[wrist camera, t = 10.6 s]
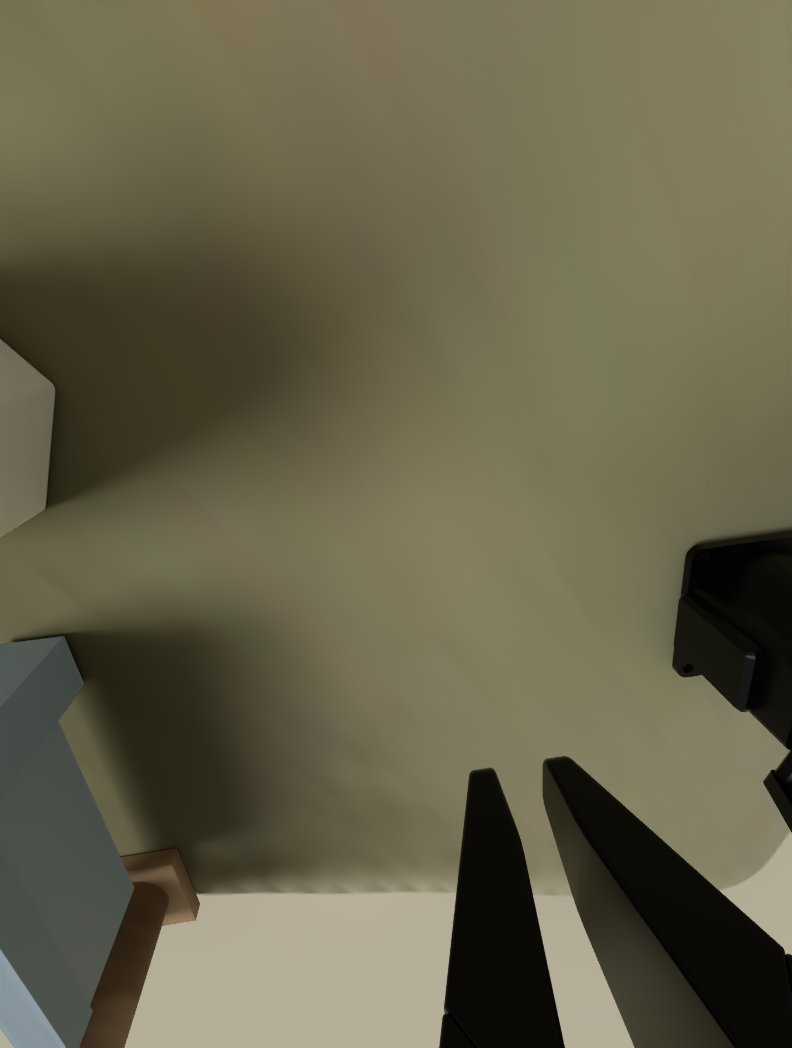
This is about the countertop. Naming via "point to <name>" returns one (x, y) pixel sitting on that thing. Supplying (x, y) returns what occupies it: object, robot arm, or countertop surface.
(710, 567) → the robot arm
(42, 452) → the jar
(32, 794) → the gate
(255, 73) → the countertop surface
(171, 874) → the hinge post
